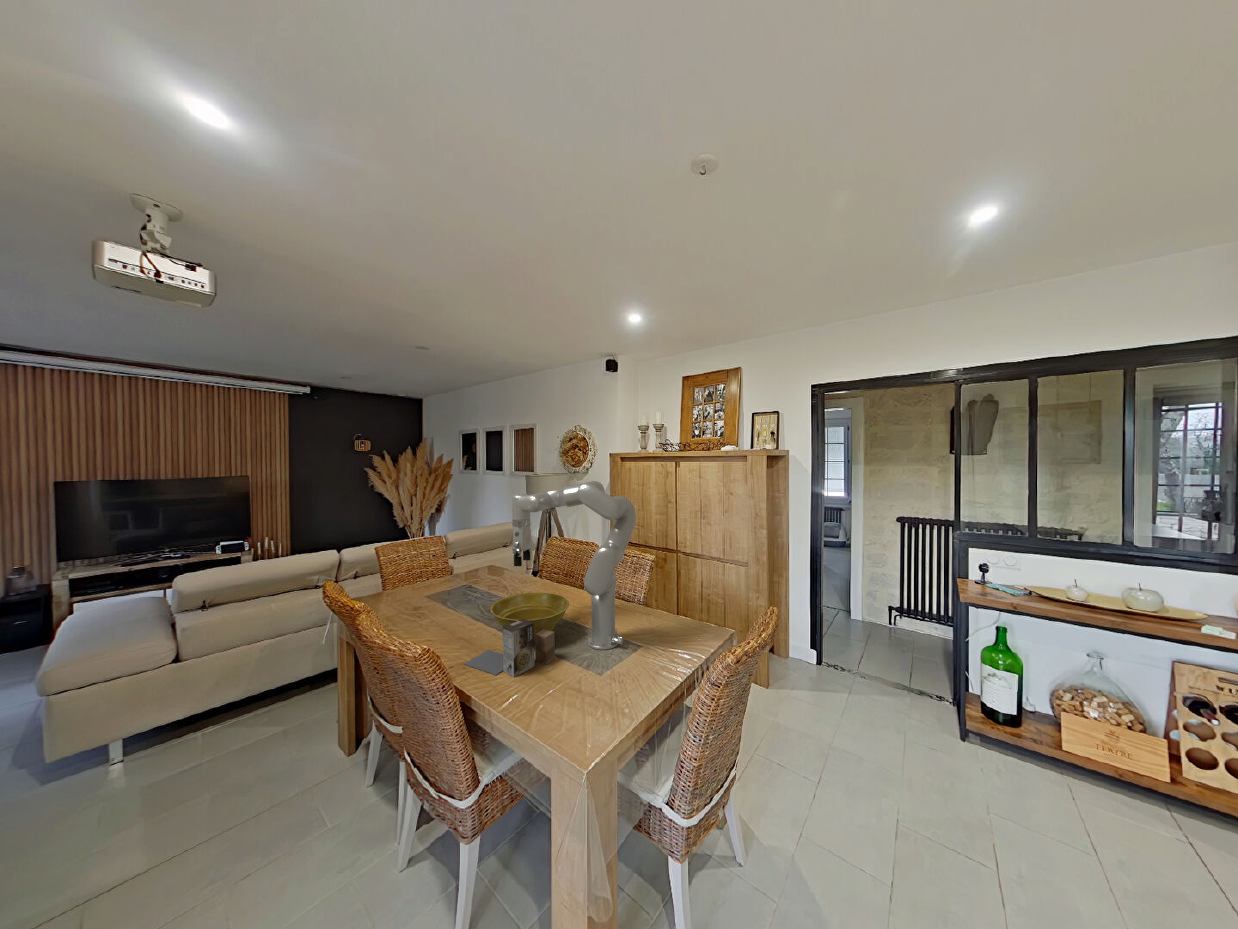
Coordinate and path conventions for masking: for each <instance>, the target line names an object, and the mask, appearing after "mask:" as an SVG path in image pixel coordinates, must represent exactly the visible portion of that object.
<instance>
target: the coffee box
mask: <svg viewBox="0 0 1238 929" xmlns="http://www.w3.org/2000/svg"><path fill="white" fill-rule="evenodd" d="M502 652H503V653H502V654H503V668H504V671H503V672H504V673H506V674H507V675H509V676H511V677H513V678H515V677H517V676H519V675H521V674H523V673H525V672H527V671H528V670H531V669H533V668H535V667H536V666H535V643H534V623H533V622H530V621H529V620H526V619H520V620H518V621H515V622H513V623H510V624H508V625H505V626H502Z"/></svg>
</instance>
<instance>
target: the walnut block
mask: <svg viewBox="0 0 1238 929" xmlns="http://www.w3.org/2000/svg"><path fill="white" fill-rule="evenodd" d="M555 644H556V643H555V631H548V630H542V631H540V632H538V633H537V634H535V643H534V663H536V662H537V663H540V664H543V665H548V664H550V663H551V662H552V661H554V660H555V653H556V652H555V651H556V648H555Z"/></svg>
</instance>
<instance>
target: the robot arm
mask: <svg viewBox="0 0 1238 929" xmlns="http://www.w3.org/2000/svg"><path fill="white" fill-rule="evenodd" d="M581 505H584V506H585V507H587V508H589V509H590V510H591V511H593V512H594V513H596V514H598V515H599V516H600V517H602V518H604V519H605V520H607V521H614V522H613V524H612V526H611V528H610V531H609V533H608V536H607V537H606V540H605V542H604V543H603V544H602V545H600V546H599V547H598V548H597V549H596V551H595V552H594V553H593V556H592V558H591V561H590V562H589V565H588V568H587V571H586V573H585V575H584V579H583V586H584V589H585V591H586V592H587V594H588V595H589V596H590V595H591V596H590V597H591V600H590V601H591V602H590V603H591V604H590V605H591V607H590V608H591V611H590V613H591V620H590V621H591V636H589V638H588V639H587V645H588V647H590V648H592V649H595V650H600V651H601V650H604V651H605V650H610V649H613V648H616V647H617V646H618V645H623V643H624V636H621V635H618V631H617V630H616V587H617V586H616V585H617V573H616V570H615V569H616V568H617V566H618V565H620V563H621V562H622V560H623V559H624V556H625V553H626V550H627V548H628V545H629V542H630V540H631V537H632V534H633V532H634V530H635V526H636V522H637V512H636V508H635V506H634V505H633V503H632V501H631V500H629V499H628V498H627V497H625V496H623V495H615V496H611V495H609V494H608V493H606V491H605V487H604V485H603V484H602V483H601V482H600V481H597V480H595V481H594V480H591V481H586V482H583V483H577V484H572V485H571V484H570V485H567V486H563V487H562V488H560V489H559V488H558V489H554V490H549V491H545V492H538V493H534V494H528V493H527V494H526V493H517V494H513V495H512V496H511V511H512V512H511V513H512V516H511V520H512V522H511V523H512V528H513V533H512V534H513V535H512V554H513V566H514V567H522V565H523V563H522V562H523V561H531V548H532V547H533V543H532V542H533V540H532V538H533V537H532V530H531V528H532V527H531V526H532V525H531V513H538V512H542V511H546V510H549V509H550V510H551V509H554V508H555V509H556V508H560V507H567V508H570V507H575V506H581Z"/></svg>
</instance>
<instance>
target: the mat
mask: <svg viewBox="0 0 1238 929" xmlns="http://www.w3.org/2000/svg"><path fill="white" fill-rule="evenodd" d="M463 665H464V666H466V667H470V668H473V669H475V670H478V671H480V672H481V671H482V672H483V673H487V674H490V675H493V676H498V675H499V674H501V673H503V672H504V668H503V653H501V652H498V651H494V650H491V649H487V650H485V651H483V652H481V653H480V654H478V655H476V656H474V657H473V658H471V659H469V660H468V661H467V660H466V662H464V663H463Z"/></svg>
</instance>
